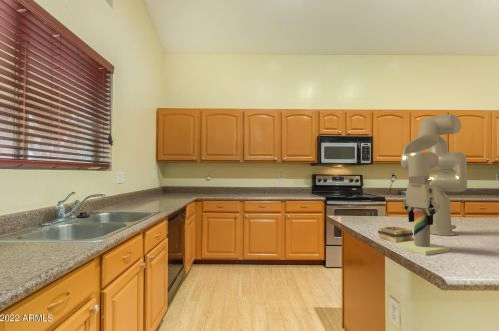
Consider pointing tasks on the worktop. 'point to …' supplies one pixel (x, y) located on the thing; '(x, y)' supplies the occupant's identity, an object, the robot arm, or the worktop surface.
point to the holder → (395, 234)
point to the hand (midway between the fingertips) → (420, 223)
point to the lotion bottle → (421, 228)
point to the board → (422, 248)
